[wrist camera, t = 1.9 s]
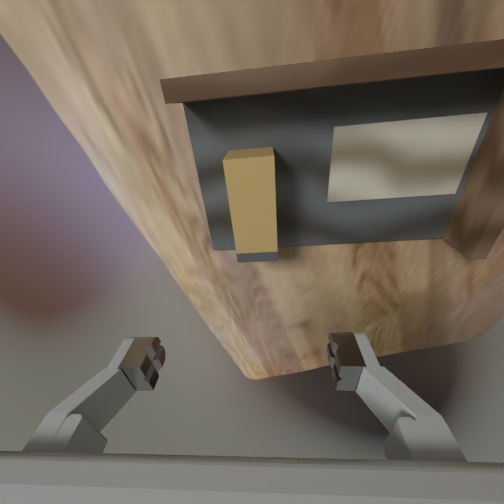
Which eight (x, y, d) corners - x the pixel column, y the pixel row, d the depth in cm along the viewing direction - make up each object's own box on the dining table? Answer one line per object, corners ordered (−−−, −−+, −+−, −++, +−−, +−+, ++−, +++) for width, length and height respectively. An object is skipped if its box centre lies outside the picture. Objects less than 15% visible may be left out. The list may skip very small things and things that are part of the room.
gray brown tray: (179, 83, 21) (159, 79, 17) (537, 42, 19) (615, 26, 15) (214, 248, 31) (206, 271, 27) (453, 235, 29) (485, 258, 24)
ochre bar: (228, 150, 24) (222, 160, 20) (272, 146, 24) (274, 155, 20) (241, 242, 30) (237, 262, 26) (276, 240, 30) (277, 260, 26)
